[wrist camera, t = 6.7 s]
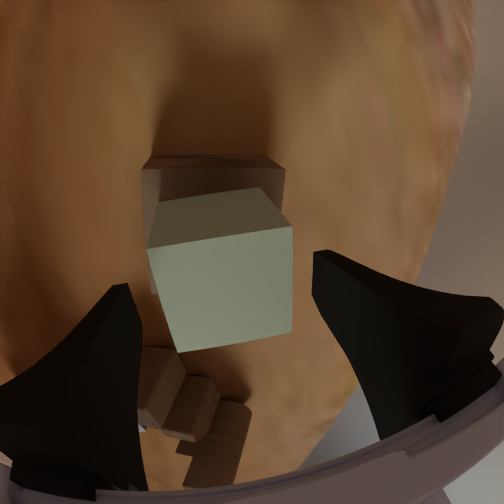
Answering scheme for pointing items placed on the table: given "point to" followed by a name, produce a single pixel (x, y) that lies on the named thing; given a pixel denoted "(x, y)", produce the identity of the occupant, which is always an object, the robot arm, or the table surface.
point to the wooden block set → (192, 417)
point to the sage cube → (222, 268)
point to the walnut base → (204, 182)
